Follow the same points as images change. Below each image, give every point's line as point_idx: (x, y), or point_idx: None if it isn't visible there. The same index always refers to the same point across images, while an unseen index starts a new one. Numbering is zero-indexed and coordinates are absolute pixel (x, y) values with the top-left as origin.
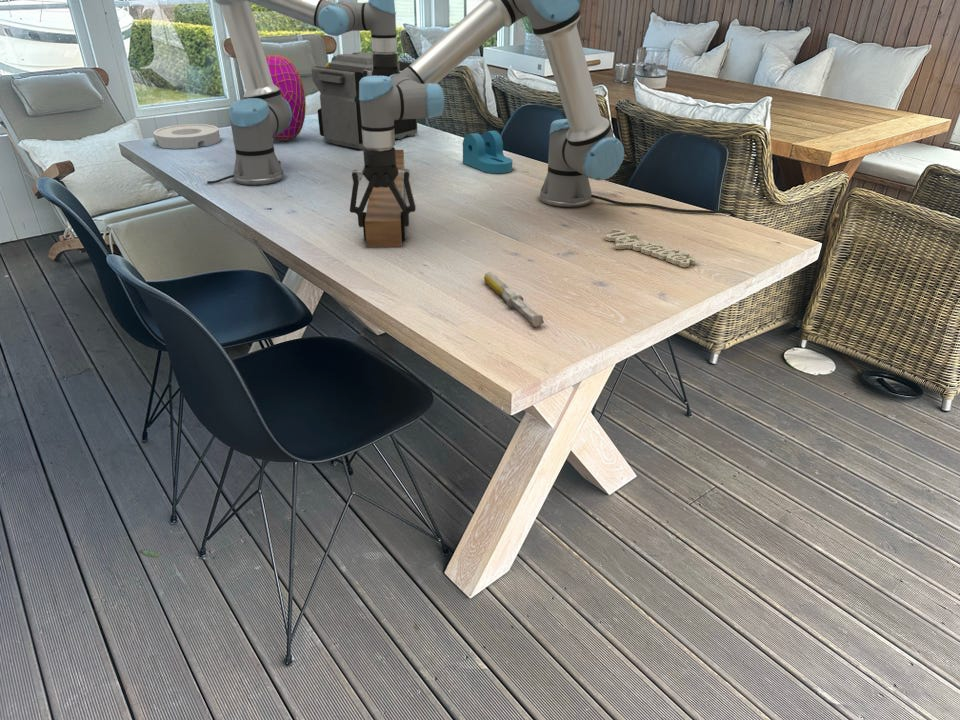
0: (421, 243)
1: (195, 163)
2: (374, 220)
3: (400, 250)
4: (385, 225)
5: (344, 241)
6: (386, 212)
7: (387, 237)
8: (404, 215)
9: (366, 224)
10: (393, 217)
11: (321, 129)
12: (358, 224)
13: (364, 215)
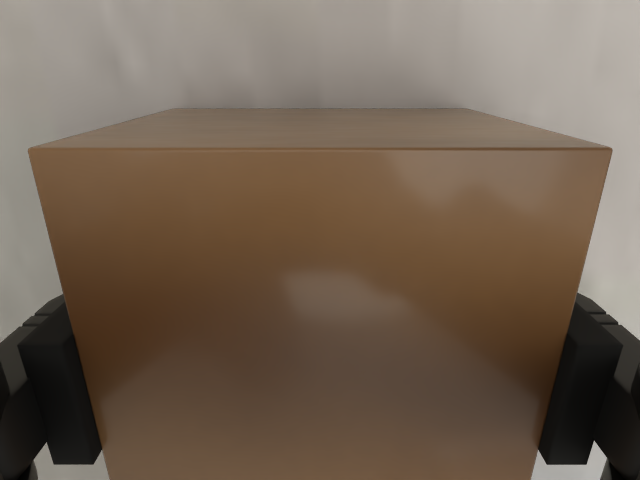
0: (22, 178)
1: None
2: (451, 177)
3: (171, 17)
4: (283, 136)
5: (624, 251)
6: (284, 467)
7: (280, 118)
8: (29, 364)
9: (559, 140)
10: (166, 292)
11: None
12: (595, 305)
13: (589, 350)
